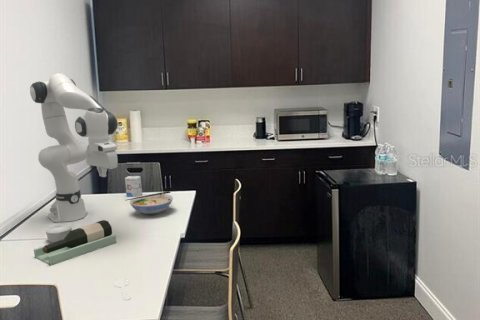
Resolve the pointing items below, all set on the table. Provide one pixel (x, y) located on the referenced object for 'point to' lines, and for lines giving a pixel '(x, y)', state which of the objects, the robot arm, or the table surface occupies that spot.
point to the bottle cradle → (72, 250)
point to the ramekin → (58, 232)
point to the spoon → (122, 287)
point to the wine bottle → (81, 236)
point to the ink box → (133, 186)
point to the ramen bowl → (151, 203)
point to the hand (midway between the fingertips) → (102, 176)
